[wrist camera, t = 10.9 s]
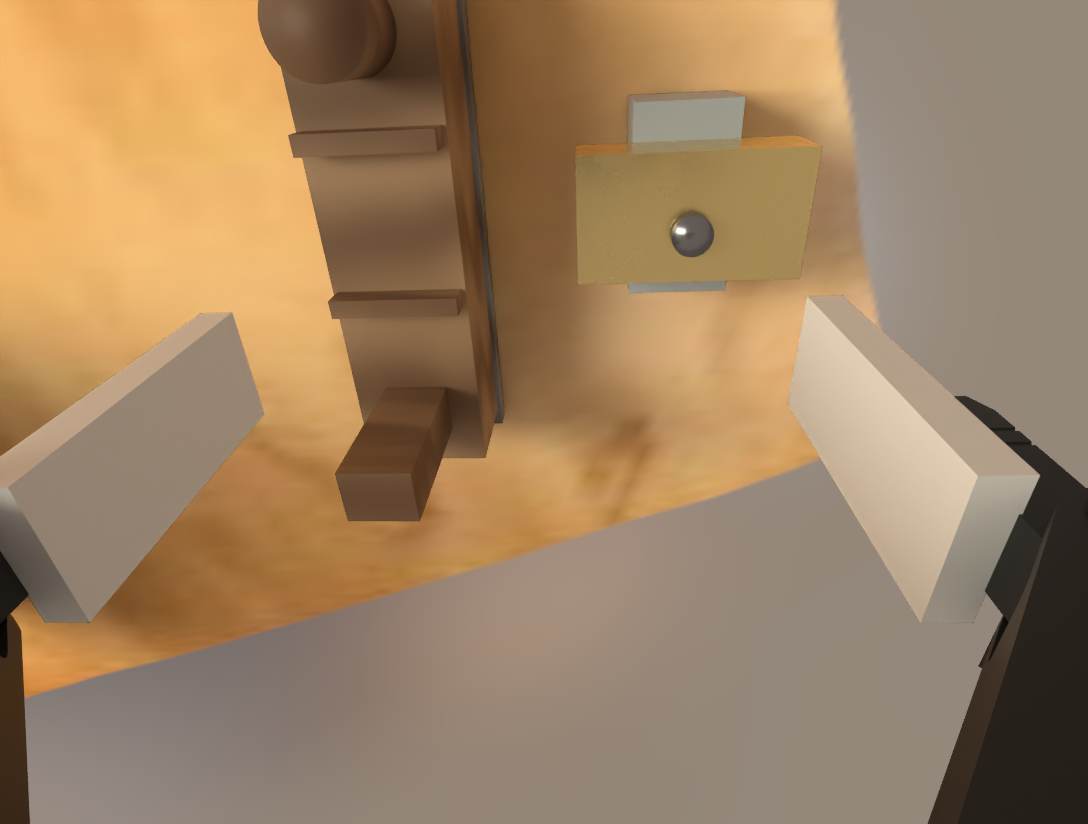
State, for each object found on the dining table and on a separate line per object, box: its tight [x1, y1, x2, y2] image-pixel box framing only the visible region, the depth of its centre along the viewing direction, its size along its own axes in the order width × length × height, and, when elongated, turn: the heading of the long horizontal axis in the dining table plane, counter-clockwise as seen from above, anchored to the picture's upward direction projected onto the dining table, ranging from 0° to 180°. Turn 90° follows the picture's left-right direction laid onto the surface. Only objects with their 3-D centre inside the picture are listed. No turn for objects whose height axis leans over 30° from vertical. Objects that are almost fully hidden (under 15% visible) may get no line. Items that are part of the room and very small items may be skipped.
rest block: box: [627, 90, 746, 293], centre depth 28 cm, size 4×8×4 cm, turn 3°
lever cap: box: [575, 136, 822, 285], centre depth 25 cm, size 5×9×4 cm, turn 93°
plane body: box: [258, 0, 504, 521], centre depth 26 cm, size 24×6×13 cm, turn 3°
